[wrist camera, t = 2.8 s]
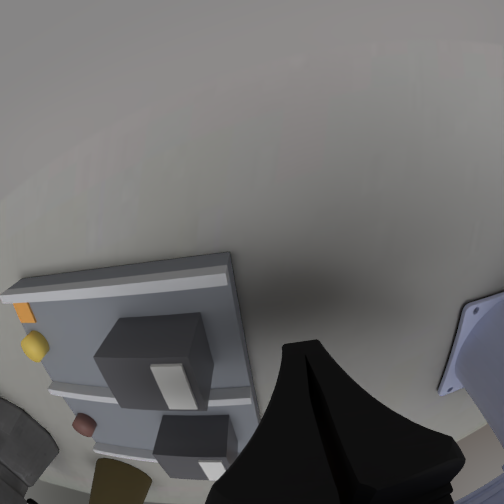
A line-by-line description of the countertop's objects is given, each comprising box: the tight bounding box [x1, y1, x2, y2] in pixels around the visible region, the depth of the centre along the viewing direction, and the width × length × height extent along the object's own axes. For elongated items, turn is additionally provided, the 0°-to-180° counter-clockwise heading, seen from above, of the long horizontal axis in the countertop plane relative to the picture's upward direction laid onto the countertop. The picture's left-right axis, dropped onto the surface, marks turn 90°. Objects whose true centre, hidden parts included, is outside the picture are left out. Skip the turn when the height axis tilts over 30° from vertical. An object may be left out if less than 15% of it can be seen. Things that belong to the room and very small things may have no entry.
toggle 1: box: [93, 312, 214, 411], centre depth 11 cm, size 4×3×3 cm
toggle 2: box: [152, 415, 238, 480], centre depth 14 cm, size 4×3×3 cm
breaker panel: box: [0, 252, 261, 462], centre depth 14 cm, size 13×14×2 cm
